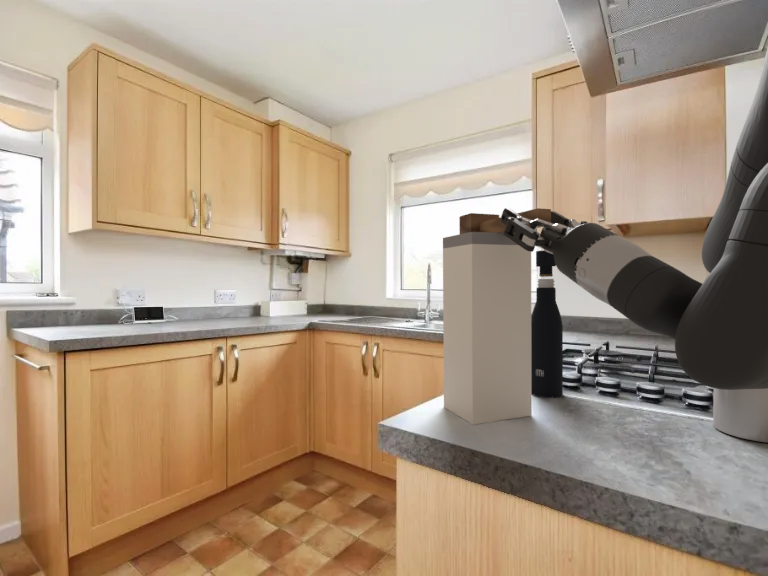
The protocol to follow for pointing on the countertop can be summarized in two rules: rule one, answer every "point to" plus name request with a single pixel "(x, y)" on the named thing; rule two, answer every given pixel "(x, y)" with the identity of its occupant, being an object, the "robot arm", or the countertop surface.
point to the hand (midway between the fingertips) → (526, 215)
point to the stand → (486, 327)
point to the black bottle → (546, 334)
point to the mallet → (497, 221)
